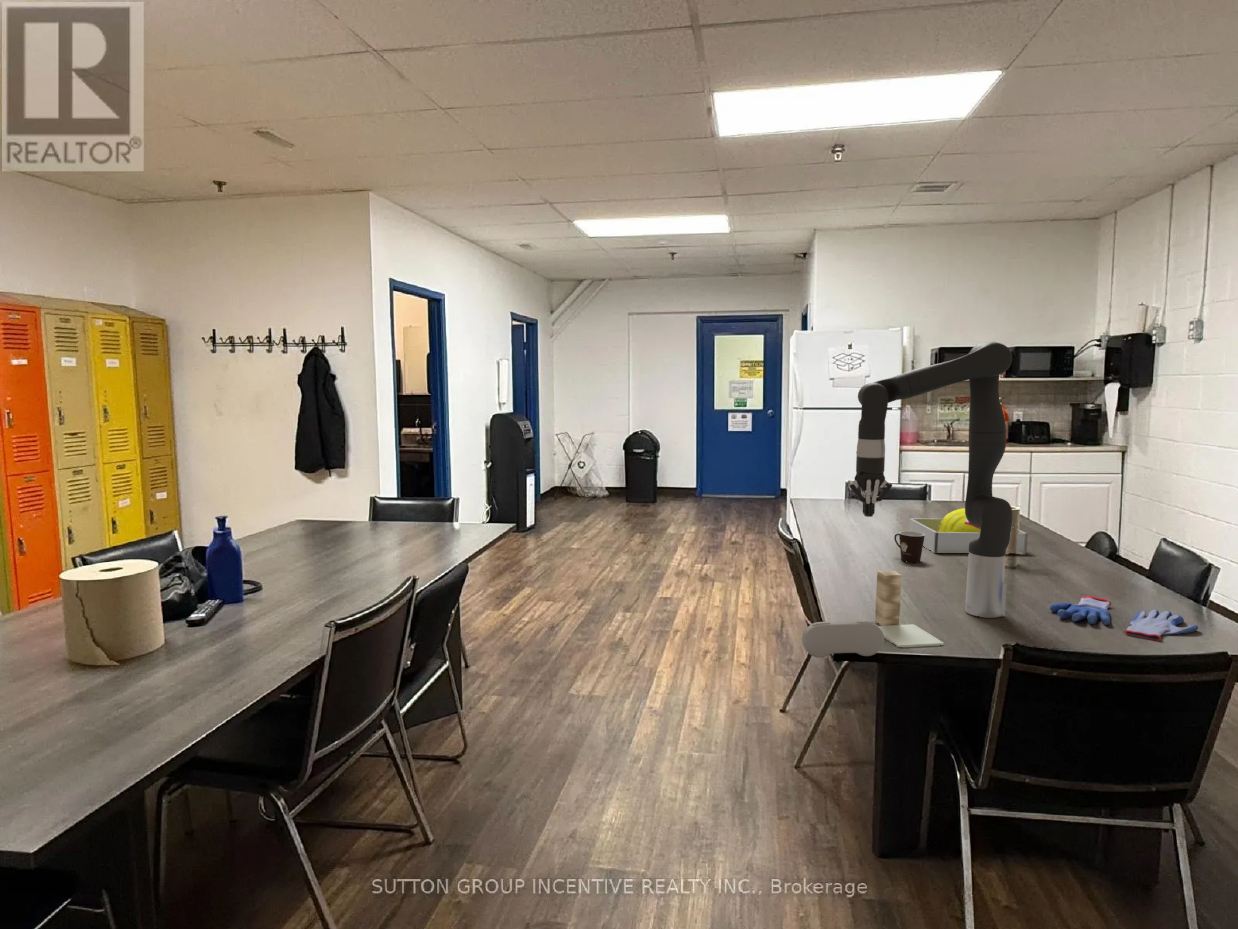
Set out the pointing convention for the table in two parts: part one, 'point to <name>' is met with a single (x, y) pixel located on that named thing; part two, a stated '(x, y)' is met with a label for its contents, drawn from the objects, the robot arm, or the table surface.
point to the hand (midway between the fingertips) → (868, 516)
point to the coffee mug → (910, 545)
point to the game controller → (842, 638)
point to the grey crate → (951, 537)
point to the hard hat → (957, 523)
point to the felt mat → (909, 636)
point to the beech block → (888, 598)
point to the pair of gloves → (1140, 624)
